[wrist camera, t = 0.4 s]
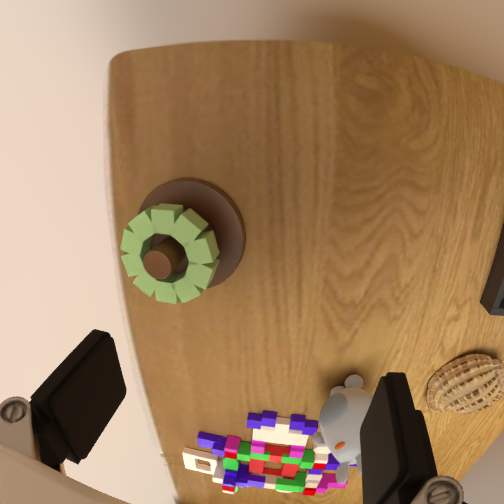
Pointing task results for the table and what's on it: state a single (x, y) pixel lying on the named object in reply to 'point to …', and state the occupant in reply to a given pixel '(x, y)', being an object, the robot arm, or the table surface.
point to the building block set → (267, 457)
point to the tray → (495, 283)
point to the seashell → (466, 384)
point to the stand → (219, 220)
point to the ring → (185, 232)
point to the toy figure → (344, 424)
